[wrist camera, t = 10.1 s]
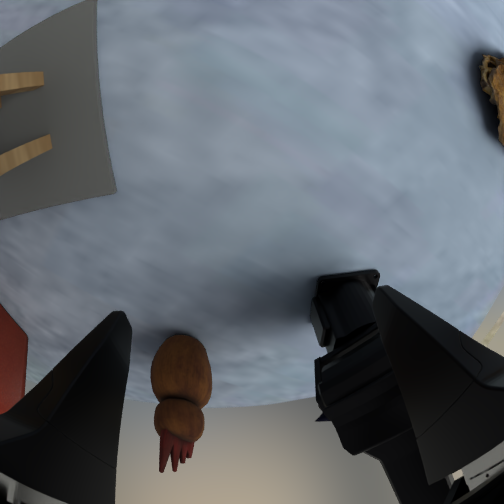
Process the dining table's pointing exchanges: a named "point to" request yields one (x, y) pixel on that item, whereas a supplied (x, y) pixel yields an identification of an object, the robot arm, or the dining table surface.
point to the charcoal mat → (56, 115)
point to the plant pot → (11, 361)
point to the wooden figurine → (180, 396)
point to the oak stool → (23, 153)
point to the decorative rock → (494, 86)
